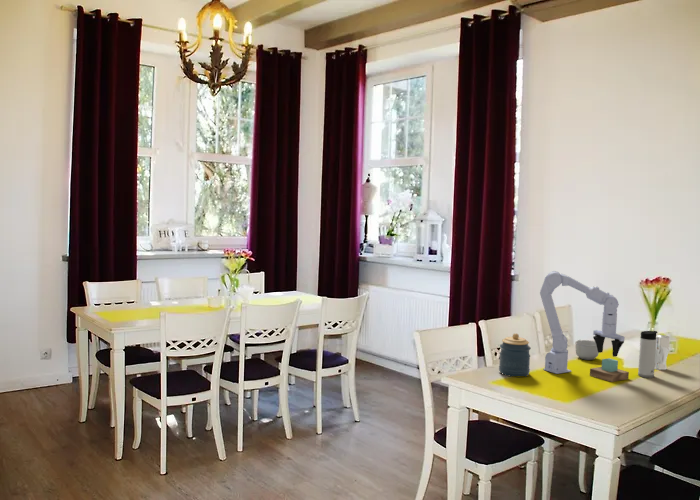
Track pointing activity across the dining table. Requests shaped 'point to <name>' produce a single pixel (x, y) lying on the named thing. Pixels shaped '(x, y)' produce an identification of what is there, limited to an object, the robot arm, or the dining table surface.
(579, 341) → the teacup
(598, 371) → the walnut base
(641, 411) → the dining table surface
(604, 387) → the dining table surface
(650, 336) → the travel mug
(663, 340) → the beer glass
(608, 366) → the teal cube
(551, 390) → the dining table surface
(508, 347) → the canister
